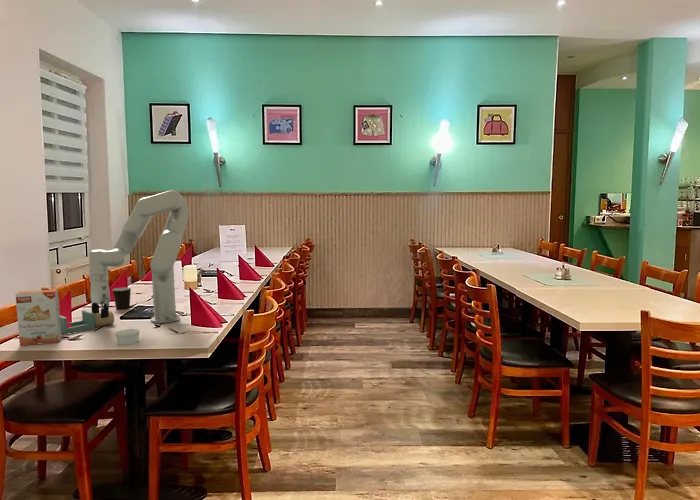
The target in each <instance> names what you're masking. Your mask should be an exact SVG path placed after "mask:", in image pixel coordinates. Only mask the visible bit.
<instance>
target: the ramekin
mask: <svg viewBox="0 0 700 500" xmlns="http://www.w3.org/2000/svg"><path fill="white" fill-rule="evenodd" d="M114 334H115V337H116V343H117V345H120V346H126V345H127V346H128V345H133V344H136V343H138V342H139V340H140V330H139V329H136V328H131V329H129V328H128V329H121V330H117V331H116V332H115V333H114Z"/></svg>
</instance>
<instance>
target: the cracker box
mask: <svg viewBox="0 0 700 500" xmlns="http://www.w3.org/2000/svg"><path fill="white" fill-rule="evenodd" d="M15 303H16V304H15V305H16V316H17V328H18V339H19V341H18V342H19V346H20V345H21V346H28V345H27V344H33V345H39V344H38V343H45V344H54V343H53V342H58V343H59V342H60V341H61V340H62V333H61V323H60V316H61V313H60V312H61V311H60V299H59V289H45V290H44V289H43V290H42V289H41V290H39V289H38V290H25V291H24V290H23V291H18V292H17V293H15Z"/></svg>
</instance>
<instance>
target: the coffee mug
mask: <svg viewBox="0 0 700 500" xmlns="http://www.w3.org/2000/svg"><path fill="white" fill-rule="evenodd" d="M131 292H132V287H116V288H113V289H112V295H113V298H114V299H113V300H114V304H115V310H117V311H122V310H123V311H125V310H129V309H130V307H131V306H130V305H131Z"/></svg>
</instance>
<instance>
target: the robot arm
mask: <svg viewBox="0 0 700 500" xmlns="http://www.w3.org/2000/svg"><path fill="white" fill-rule="evenodd" d="M189 210H190V209H189V206H188V203H187V201H186V200H185V198H184V197H183V195H182V194H181V193H180V192H178V191H177V190H174V189H169V190H168V191H164V192H159V193H157V194H154V195H153V194H152V195H151V196H147V197H142V198H139V199H138V200H137V202H136V204H135V207H134V208H133V209H132V212H131V213H130V215H129V216H128V217H127V219H126V222H125V223H124V225H123V227H122V229H121V230H122V231H121V233H120V235H119V237H118V239H117V241H116V243H115V244H114V246H113V248H111V250H107V249H92V250H90V251H89V252H88V267H89V268H88V269H89V282H90V302H91V303H90V306H91V312H92V313H94V314H96V313H101V318H106V317H109V311H110V310H109V309H110V302H111V295H110V293H111V291H110V285H109V267H114V268H117V267H119V268H120V267H121V266H123V265H124V264H125V262H126V261H127V259H128V257H129V256H130V254H131V253H132V250H133V249H134V247H135V246H136V244H137V242H138V241H139V240H140V238H142V236H143V234H144V232H145V230H146V229H147V227H148V225H149V223H150V222H151V220H152V218H153V217H154V216H157V215H160V214H163V213H166V212H168V216H167V220H166V223H165V225H164V228H163V230H162V233H160V235H159V238H158V242H157V244H156V247H155V250H154V253H153V255H152V257H151V260H150V269H151V283H152V284H151V286H152V297H153V298H152V299H153V301H152V302H153V303H152V304H153V316H152V317H151V318H150V322H151V323H153V324H167V323H173V322H177V321H179V320H180V319H181V317H180V315H178V314H177V309H176V307H177V306H176V292H175V290H176V289H175V288H176V287H175V273H174V271H175V270H174V269H175V267H174V266H175V263H176V260H177V257H178V255H179V251H180V249H181V246H182V239H183V235H184V232H185V230H186V229H185V228H186V226H187V224H188V223H187V222H188V220H189V212H190V211H189ZM100 307H101V308H100Z"/></svg>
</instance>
